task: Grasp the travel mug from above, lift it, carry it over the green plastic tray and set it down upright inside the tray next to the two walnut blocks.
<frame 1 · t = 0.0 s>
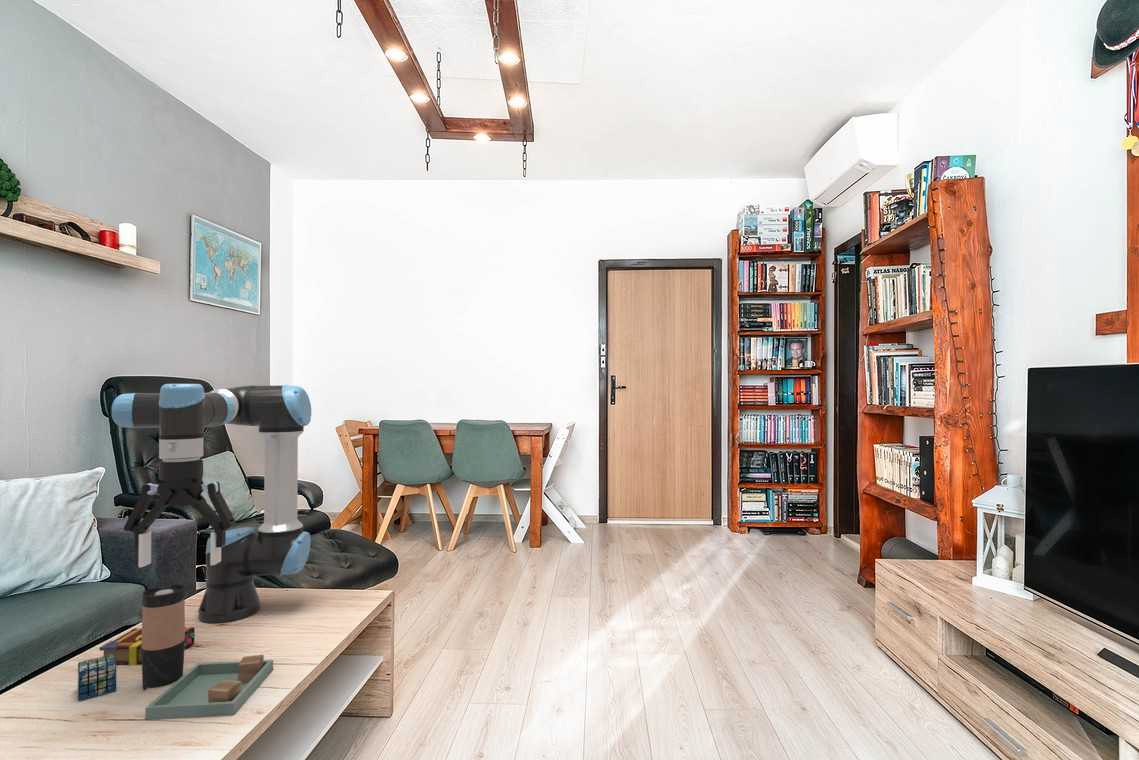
hand: (180, 564, 116), 28 cm above the table, fingers open, 13 cm apart
puzzle: (96, 692, 121), on the table
walnut block B: (225, 705, 114), point 1 cm above the table, touching tray
walnut block A: (250, 678, 125), point 1 cm above the table, touching tray
travel mug: (163, 683, 124), on the table
decorative book: (151, 656, 138), on the table
tray: (214, 696, 119), on the table
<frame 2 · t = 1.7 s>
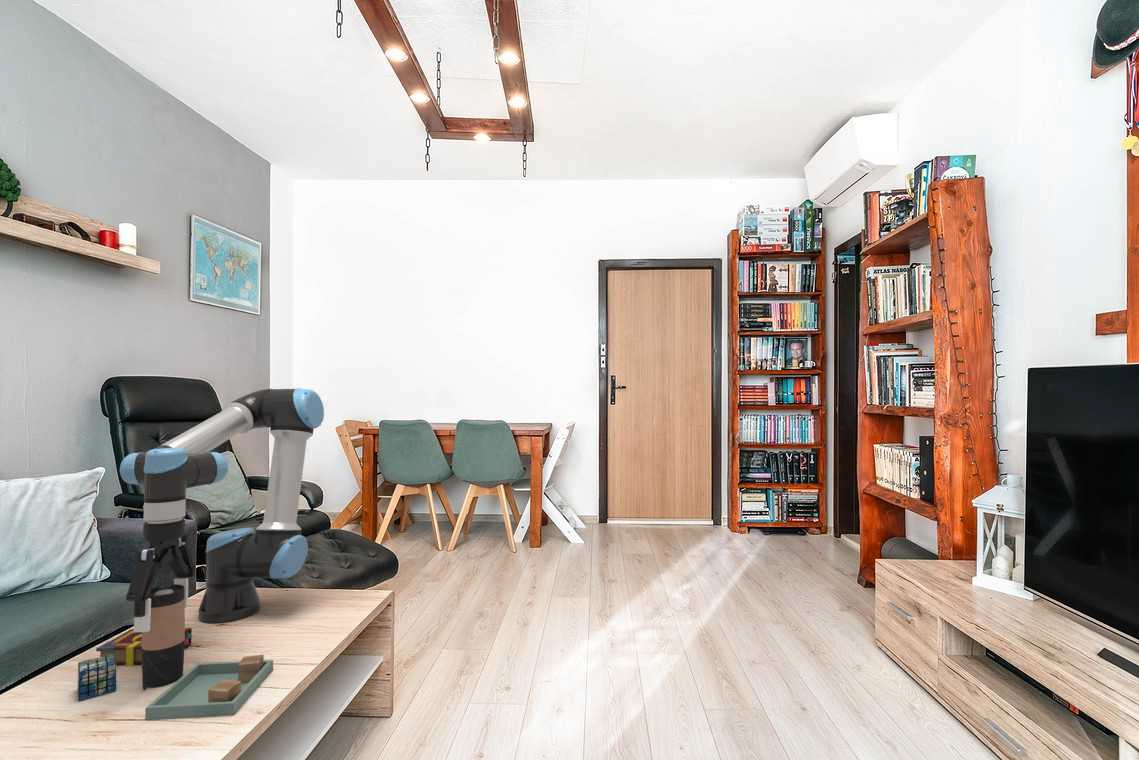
hand: (162, 619, 124), 14 cm above the table, fingers open, 13 cm apart
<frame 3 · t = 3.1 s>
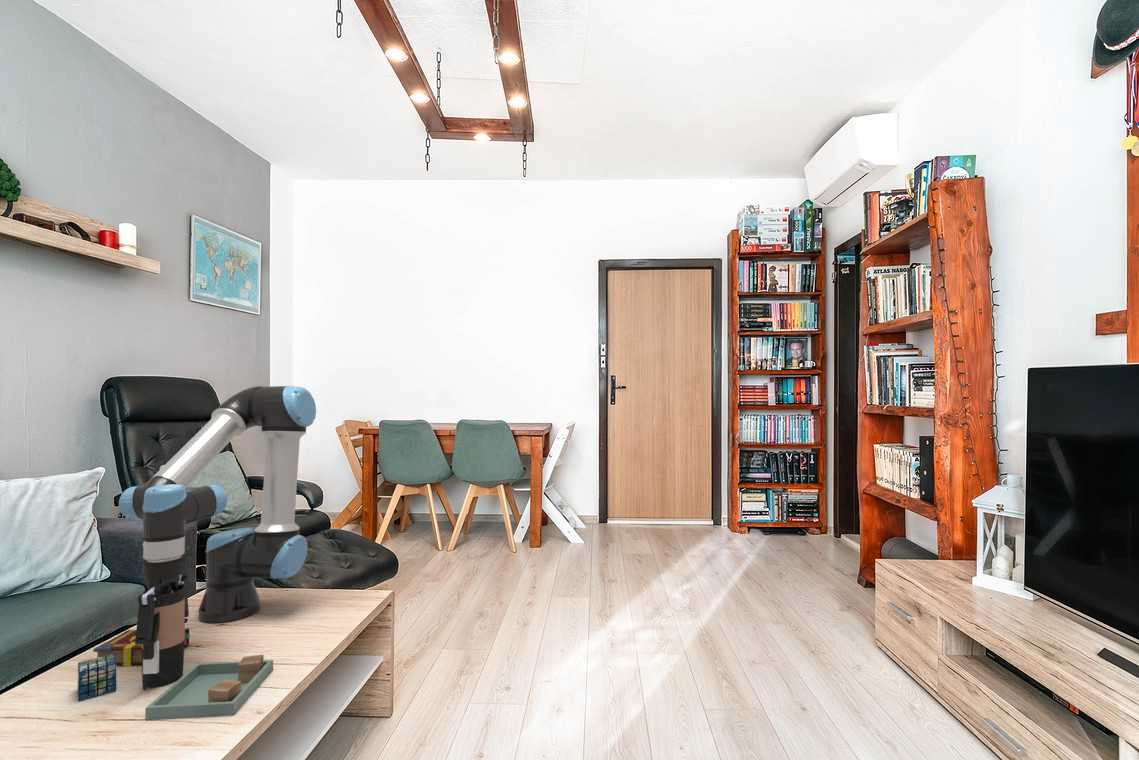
hand: (163, 663, 124), 4 cm above the table, fingers closed on travel mug, 8 cm apart
travel mug: (163, 683, 124), on the table, touching gripper
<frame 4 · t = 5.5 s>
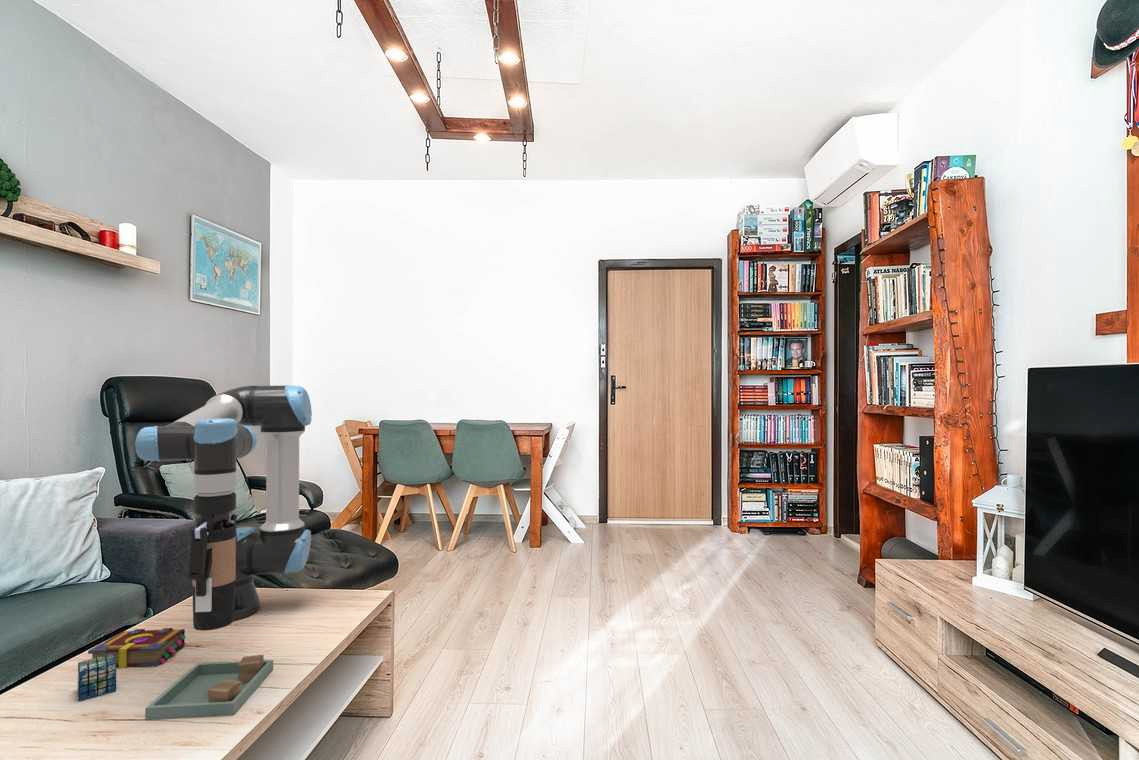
hand: (214, 603, 119), 19 cm above the table, fingers closed on travel mug, 8 cm apart
travel mug: (213, 624, 119), point 15 cm above the table, touching gripper
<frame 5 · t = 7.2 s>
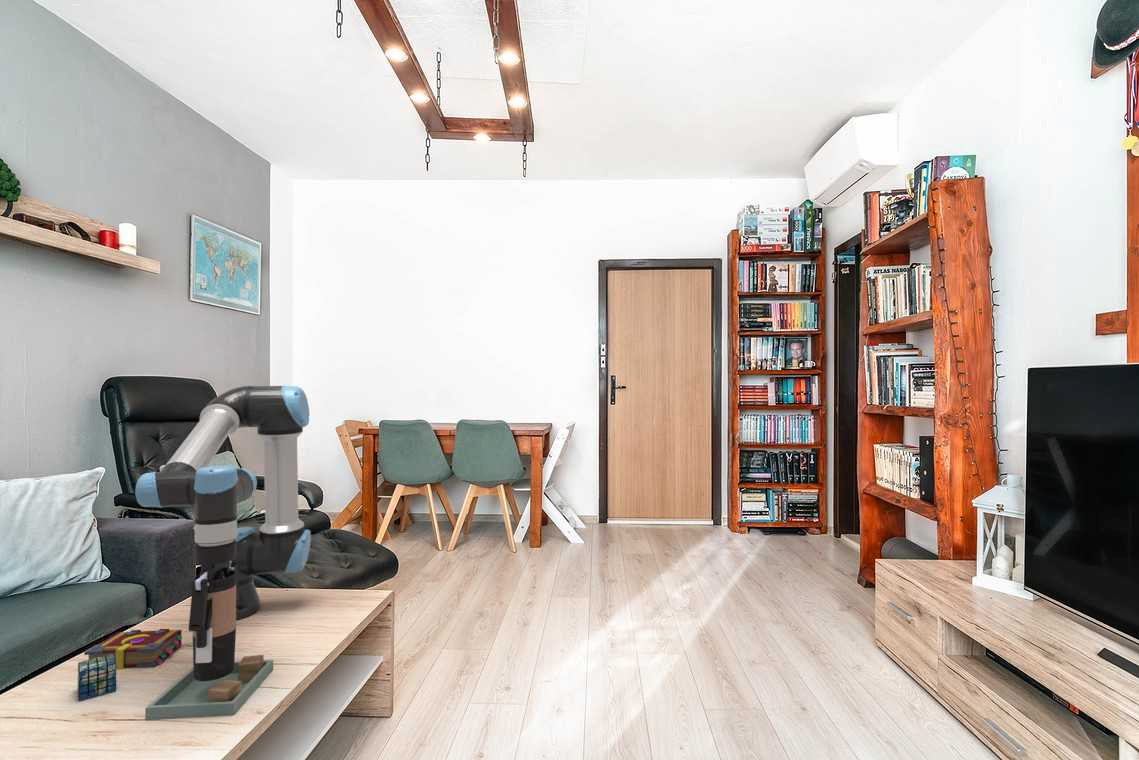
hand: (214, 652, 119), 9 cm above the table, fingers closed on travel mug, 8 cm apart
travel mug: (214, 673, 119), point 5 cm above the table, touching gripper
when the fingers open (7 cm above the table, at t = 8.2 s): travel mug drops 2 cm, resting on tray.
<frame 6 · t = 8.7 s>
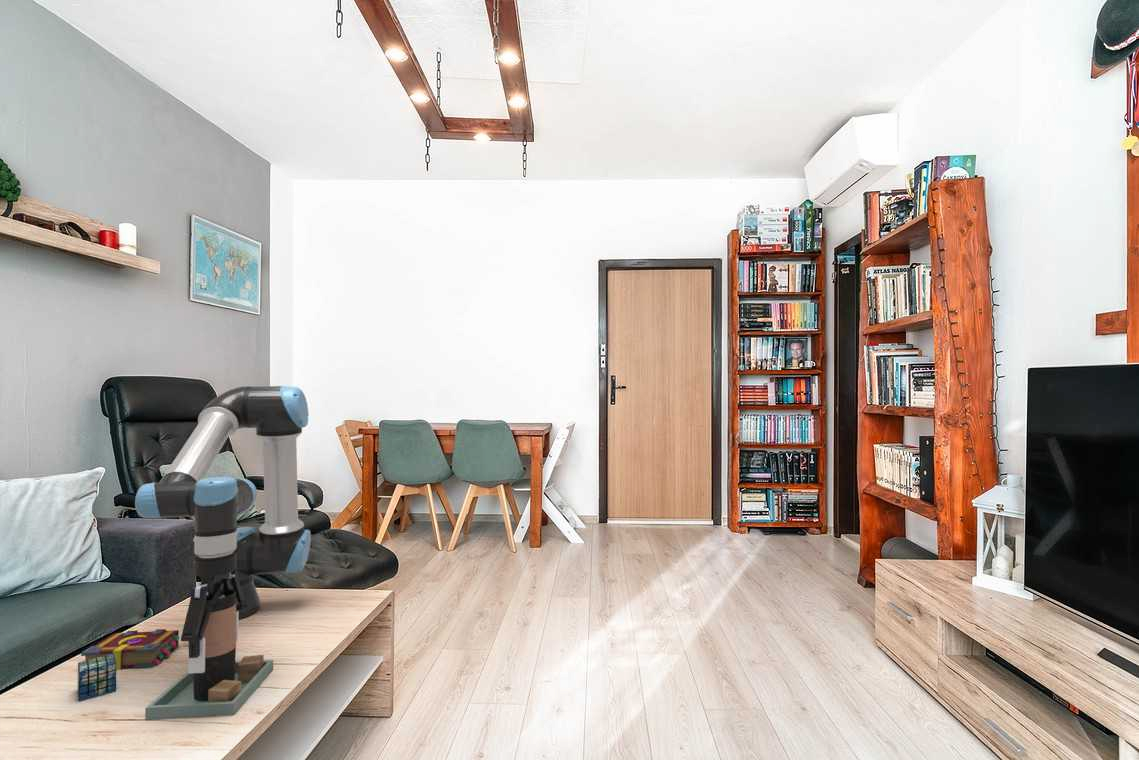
hand: (214, 656, 119), 8 cm above the table, fingers open, 13 cm apart
travel mug: (214, 693, 119), point 1 cm above the table, touching tray
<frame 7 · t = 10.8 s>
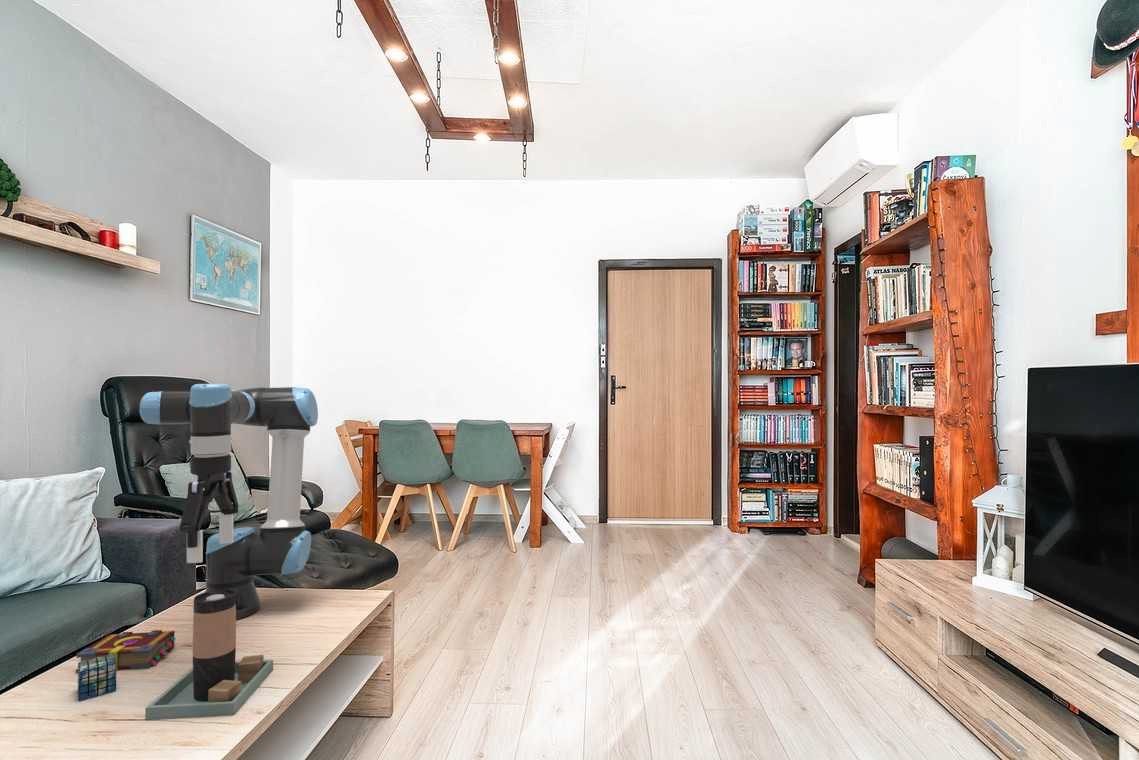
hand: (211, 552, 125), 28 cm above the table, fingers open, 13 cm apart
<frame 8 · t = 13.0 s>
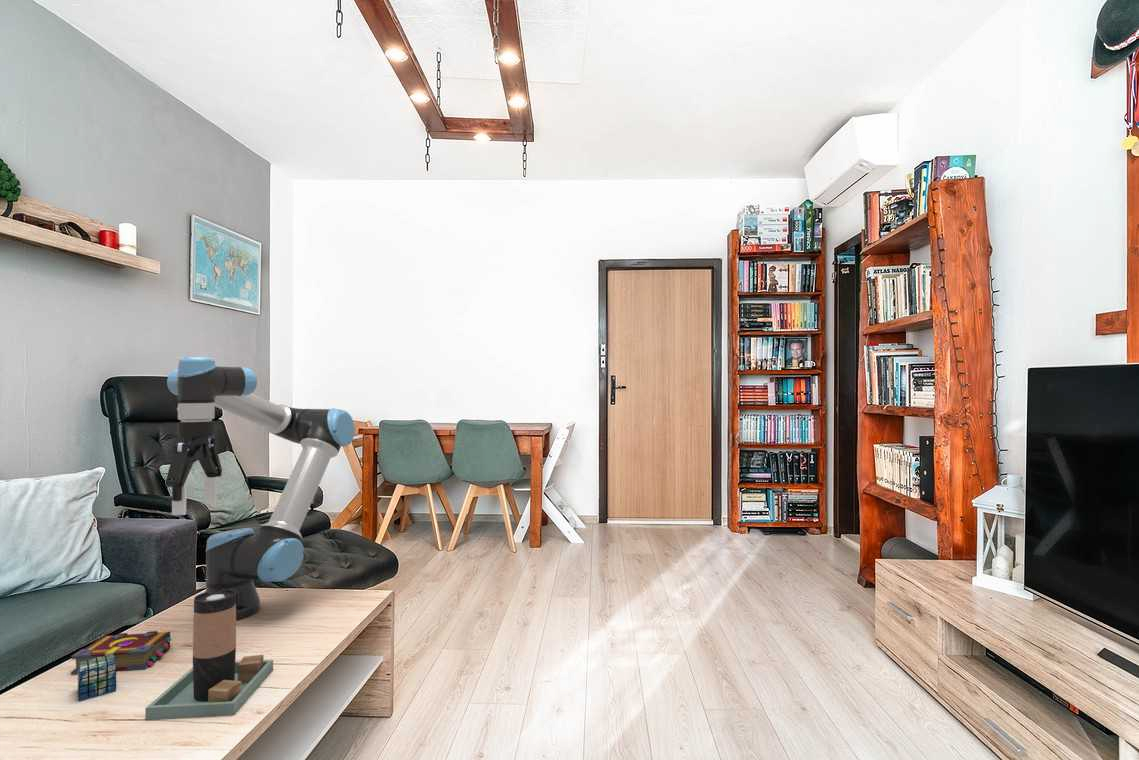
hand: (195, 508, 139), 35 cm above the table, fingers open, 13 cm apart
at the end: travel mug inside the target area on the tray (0.1 cm from its centre), point 0.6 cm above the tray's base; travel mug tilted 0°; travel mug touching tray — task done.
